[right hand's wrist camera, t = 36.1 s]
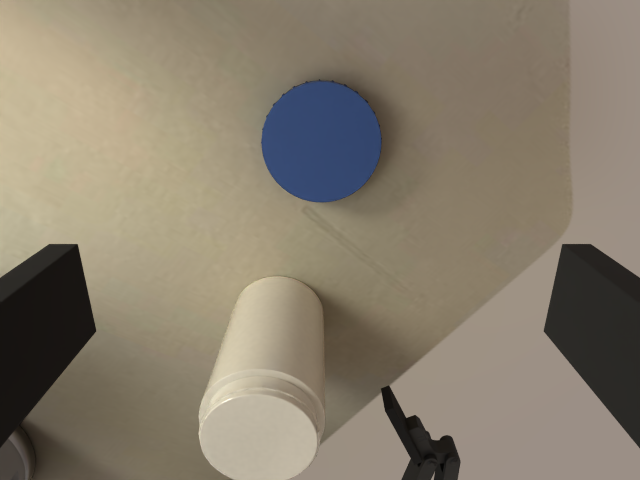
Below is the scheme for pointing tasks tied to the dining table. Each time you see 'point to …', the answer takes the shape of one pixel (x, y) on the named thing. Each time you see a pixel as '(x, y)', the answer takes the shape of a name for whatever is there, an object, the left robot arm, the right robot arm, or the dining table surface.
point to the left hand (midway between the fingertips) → (313, 424)
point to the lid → (321, 141)
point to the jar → (267, 384)
